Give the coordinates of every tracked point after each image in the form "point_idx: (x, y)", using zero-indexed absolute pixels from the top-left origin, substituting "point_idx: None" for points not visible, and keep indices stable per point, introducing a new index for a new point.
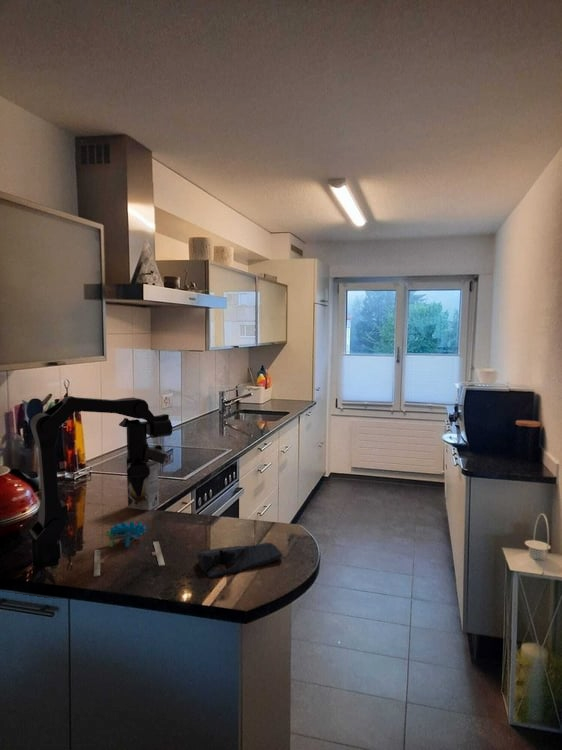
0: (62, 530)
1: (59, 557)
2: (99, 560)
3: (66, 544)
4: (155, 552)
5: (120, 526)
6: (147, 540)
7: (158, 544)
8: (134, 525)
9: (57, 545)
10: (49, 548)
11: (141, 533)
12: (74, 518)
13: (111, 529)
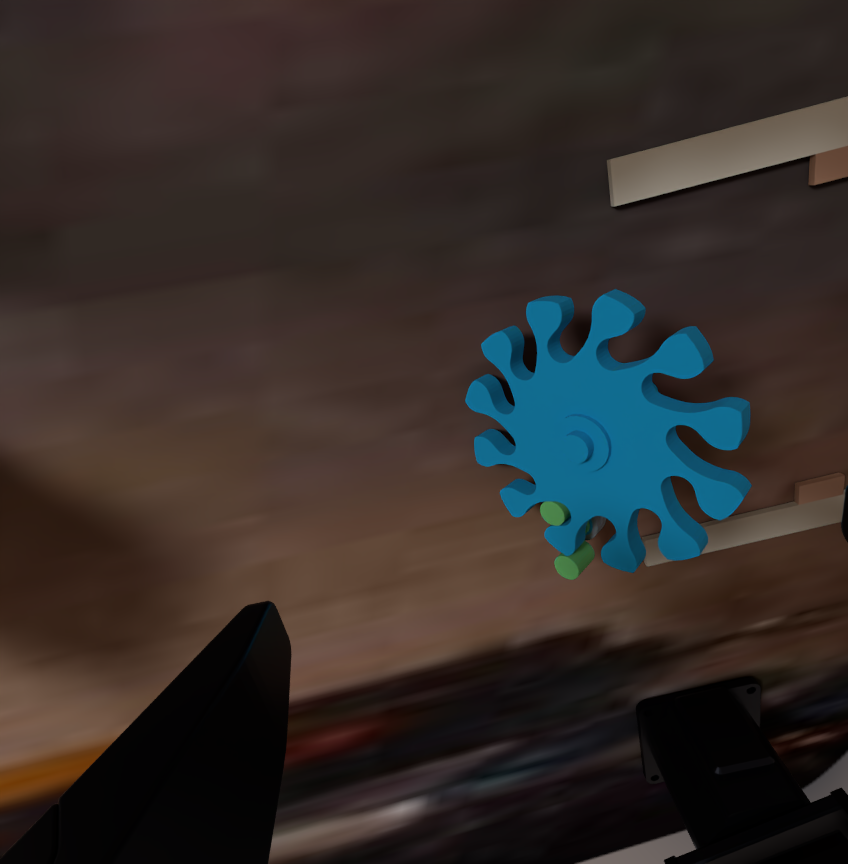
0: (842, 834)
1: (730, 694)
2: (806, 506)
3: (503, 712)
4: (832, 152)
5: (677, 508)
6: (543, 265)
7: (678, 149)
8: (646, 399)
9: (775, 761)
10: (794, 779)
11: (508, 329)
12: None
13: (643, 558)
